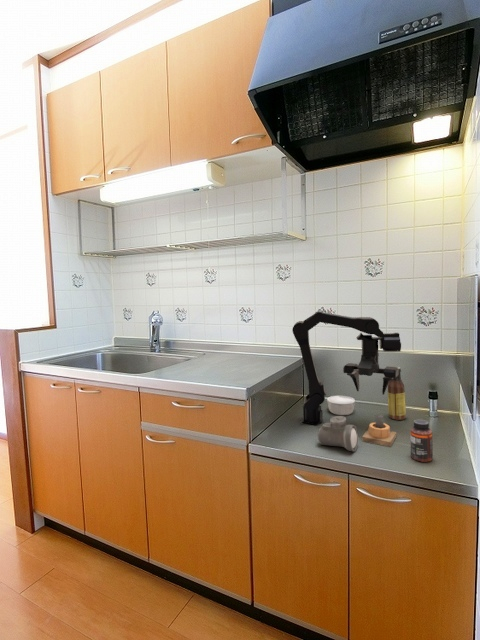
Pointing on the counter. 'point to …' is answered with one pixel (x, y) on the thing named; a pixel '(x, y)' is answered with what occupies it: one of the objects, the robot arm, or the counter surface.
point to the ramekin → (341, 405)
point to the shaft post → (381, 441)
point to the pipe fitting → (338, 434)
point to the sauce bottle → (396, 398)
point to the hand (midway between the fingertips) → (370, 392)
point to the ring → (379, 431)
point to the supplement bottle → (421, 441)
